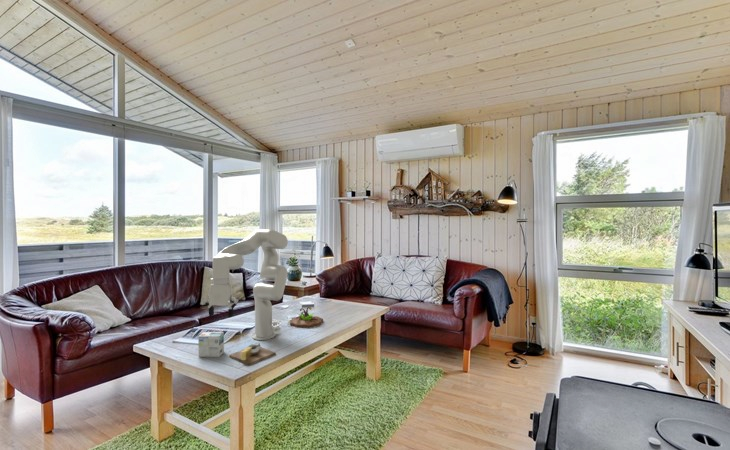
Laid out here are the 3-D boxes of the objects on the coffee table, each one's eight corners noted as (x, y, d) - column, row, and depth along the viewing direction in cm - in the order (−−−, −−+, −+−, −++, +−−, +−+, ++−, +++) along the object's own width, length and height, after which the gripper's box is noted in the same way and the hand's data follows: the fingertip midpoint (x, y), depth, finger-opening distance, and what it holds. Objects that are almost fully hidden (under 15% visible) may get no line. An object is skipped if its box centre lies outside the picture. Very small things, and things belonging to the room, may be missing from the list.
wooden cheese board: (255, 347, 196) (255, 337, 196) (275, 354, 186) (275, 344, 186) (229, 356, 183) (229, 346, 183) (249, 365, 173) (249, 354, 173)
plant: (312, 330, 225) (313, 312, 225) (285, 326, 232) (285, 308, 232) (327, 321, 244) (327, 304, 244) (301, 317, 251) (301, 301, 250)
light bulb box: (224, 351, 189) (224, 331, 189) (219, 357, 183) (219, 336, 182) (203, 351, 189) (203, 331, 188) (198, 357, 182) (197, 336, 182)
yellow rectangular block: (252, 348, 191) (252, 340, 190) (263, 349, 189) (263, 341, 189) (237, 359, 176) (237, 351, 176) (249, 360, 175) (249, 352, 175)
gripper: (199, 282, 174) (199, 317, 175) (234, 283, 172) (234, 319, 173) (208, 279, 181) (208, 313, 182) (241, 280, 180) (241, 314, 180)
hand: (221, 316), depth 178 cm, fingers open, 9 cm apart
